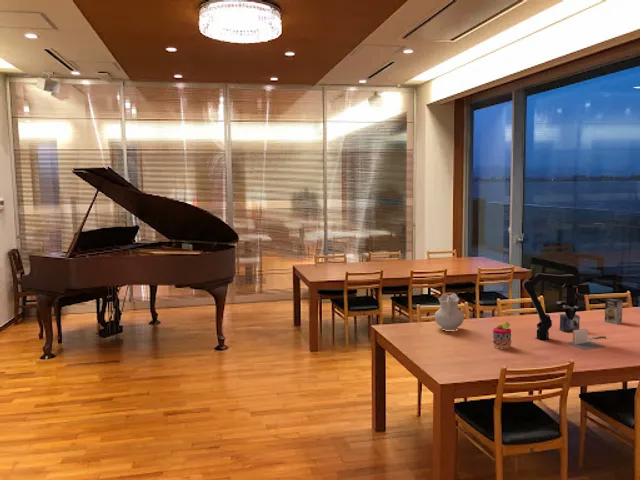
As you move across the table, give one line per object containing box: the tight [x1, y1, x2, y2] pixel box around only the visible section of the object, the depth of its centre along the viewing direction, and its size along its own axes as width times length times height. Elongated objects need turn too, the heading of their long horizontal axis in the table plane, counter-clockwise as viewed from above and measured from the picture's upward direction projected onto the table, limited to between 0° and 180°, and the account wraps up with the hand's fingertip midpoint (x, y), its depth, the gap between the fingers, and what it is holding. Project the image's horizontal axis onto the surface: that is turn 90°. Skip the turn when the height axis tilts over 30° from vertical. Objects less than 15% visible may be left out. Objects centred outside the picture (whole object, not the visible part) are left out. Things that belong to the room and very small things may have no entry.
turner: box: [587, 335, 607, 342], centre depth 330 cm, size 15×5×1 cm, turn 108°
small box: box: [559, 313, 581, 333], centre depth 351 cm, size 11×6×10 cm, turn 92°
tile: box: [572, 328, 589, 344], centre depth 321 cm, size 9×2×8 cm, turn 107°
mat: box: [565, 340, 607, 351], centre depth 318 cm, size 16×16×1 cm
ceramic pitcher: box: [434, 292, 465, 330], centre depth 360 cm, size 22×20×25 cm
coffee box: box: [604, 298, 624, 325], centre depth 368 cm, size 9×6×16 cm
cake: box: [492, 321, 512, 350], centre depth 320 cm, size 10×10×15 cm
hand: (570, 319), depth 328 cm, fingers closed
